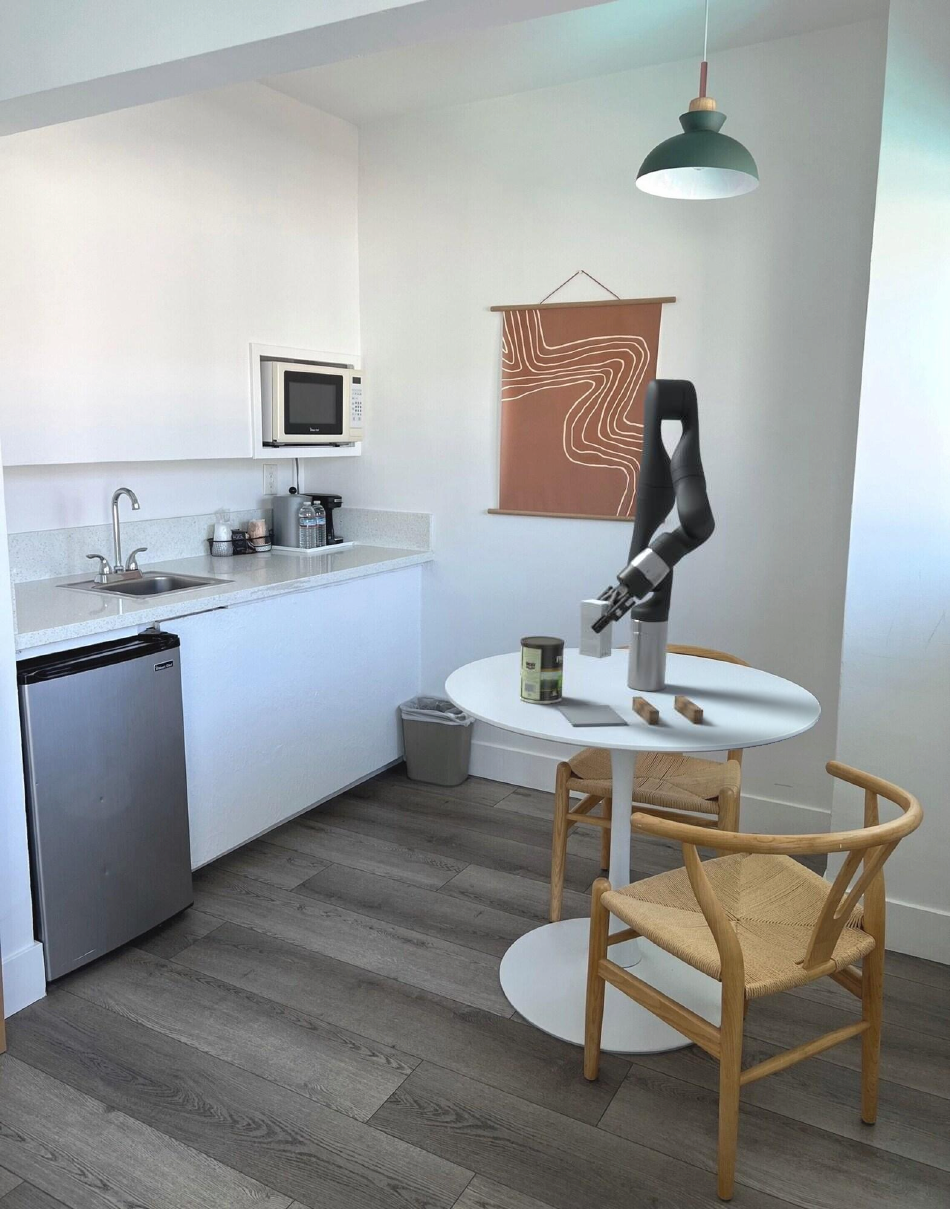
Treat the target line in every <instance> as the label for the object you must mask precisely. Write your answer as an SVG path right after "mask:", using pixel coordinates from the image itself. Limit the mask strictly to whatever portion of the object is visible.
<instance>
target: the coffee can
mask: <svg viewBox="0 0 950 1209" xmlns="http://www.w3.org/2000/svg"><path fill="white" fill-rule="evenodd" d="M519 642H520V659H519V660H520V661H519V662H520V664H519V666H520V669H519V697H518V698H519V700H521V701H522V702H526V703H529V702H530V704H536V705H537V704H538V705H539V704H540V705H551V703H552V704H556V702H557V703H559V701H560V702H562V700H563V674H564V673H563V672H564V671H563V670H564V649H565V648H564V647H565V640H564V639H562V638H559V637H555V636H543V635H539V636H538V635H537V636H536V635H535V636H526V637H522V638H521V639H520V640H519Z"/></svg>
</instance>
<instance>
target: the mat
mask: <svg viewBox="0 0 950 1209" xmlns="http://www.w3.org/2000/svg"><path fill="white" fill-rule="evenodd" d="M557 710H558V711H559V712H560V713H561V714H562V716H563V717H564V718H565V720H567V721H568V723H569V724H570V723H571V724H570V725H571V726H572V727H574V728H575V727H610V726H612V727H614V726H628V722H627V720H625V719H624V718H623V717H622V716H621V715H620V714H619V713H618V712H617V711H616V710H615V709H613V707H611V706H610V705H609V704H595V705H594V704H593V705H591V704H590V705H588V704H586V705H584V704H583V705H557Z"/></svg>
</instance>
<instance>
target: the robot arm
mask: <svg viewBox="0 0 950 1209" xmlns="http://www.w3.org/2000/svg"><path fill="white" fill-rule="evenodd" d="M645 389H646V390H645V396H644V402H643V404H644V405H643V426H642V427H643V429H642V431H643V432H642V435H643V436H642V448H641V457H640V465H639V466H640V467H639V472H638V479H637V480H638V481H637V489H636V490H637V491H636V496H635V497H636V498H635V499H636V501H635V514H634V520H633V521H634V522H633V529H632V530H633V531H632V537H631V540H630V541H631V542H630V548H629V552H628V558H627V563H626V566H625V567H624V568H623V569H622V570H621V571H620V572H619V573H618V574H617V575H616V580H617V581H618V583H619V584H618V585H617V586H615V587H613V586H612V585H608V587H607V588H606V589H605V590H604V591H603V592H602V593H601V594H600V595H599V596H598V597H597V598H596V599H595V600H600V601H607V602H608V604H607V609H606V611H605V612H604V615H605V616H604V615H602V616H601V617H600V618H599V619H598V620H597V621H596V622H595V623H594V624H593V625H592V626H591V628H592V629H593V630H594V631H595V632H596V633H597V634H598V633H600V632H601V631H602V630H603V629H604V628H605V627H606V626H607V625H608V624H609V623H610V622H612V623H614V622H615V623H617V622H619V621H620V620H621V619H622V618H623V617H624V616H625V615H626V614H627V613H628V612H629V611H630V622H629V624H630V626H629V648H628V667H627V683H626V684H627V687H628V688H630V689H634V690H637V691H649V692H651V691H653V692H655V691H661V690H664V689H665V687H666V682H665V681H666V669H667V668H666V667H667V651H668V650H667V648H668V636H669V635H668V633H669V632H668V630H669V614H670V608H671V600H672V589H673V581H674V580H673V579H674V567H675V566H676V565H677V564H678V563H679V562H680V561H681V559H683V558H684V557H686V556H687V555H688V554H690V553H692V552H694V551H695V550H697V549H698V548H699V547H701V546H702V545H704V544H705V542H707V541H708V540H709V539H710V537H711V536H712V535H713V533H714V531H715V529H716V520H715V518H714V514H713V512H712V508H711V504H710V501H709V497H708V496H709V495H708V492H707V482H706V476H705V471H704V467H703V462H702V457H701V456H702V455H701V446H700V445H701V444H700V421H699V420H700V419H699V406H698V405H699V403H698V402H699V401H698V396H697V395H698V394H697V391H696V390H697V389H696V387H695V385H694V383H693V382H692V381H691V380H686V379H679V378H678V379H672V378H671V379H670V378H669V379H666V378H654V379H651V380H650V381H649V383H648V384H647V386H646V388H645ZM662 421H680V423H681V427H682V428H681V429H682V430H681V431H682V432H681V436H680V438H679V441H678V443H677V445H676V446H675V449H674V451H673V453H672V455H671V457H670V456H669V453H668V451H667V449H666V447H665V443H664V440H663V438H662V437H663V435H662ZM675 503H676V509H677V515H678V519H679V520H678V521H679V524H680V525H679V526H677V527H676V528H675V529H673V530H672V531H671V532H668V531H664V532H662V533H661V534H659V535H658V536H657V537H655V539H654V540H653V541H651V540H652V537H653V536H654V534H655V533H656V532H657V530H658V529H659V527H660V526H661V525H662V524H663V523H664V521H665V520H666V519H667V517H668V516H669V515H670V513H671V512H672V510H673V509H674V507H675ZM650 542H651V543H650ZM649 593H653V594H652V595H651V596H650V598H648V599H647V600H645V601H642V600H643V599H644V598H645V597H646V596H647V595H648V594H649ZM635 599H636V600H638V601H642V602H640V603H638V604H637V602H636V601H635Z"/></svg>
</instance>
